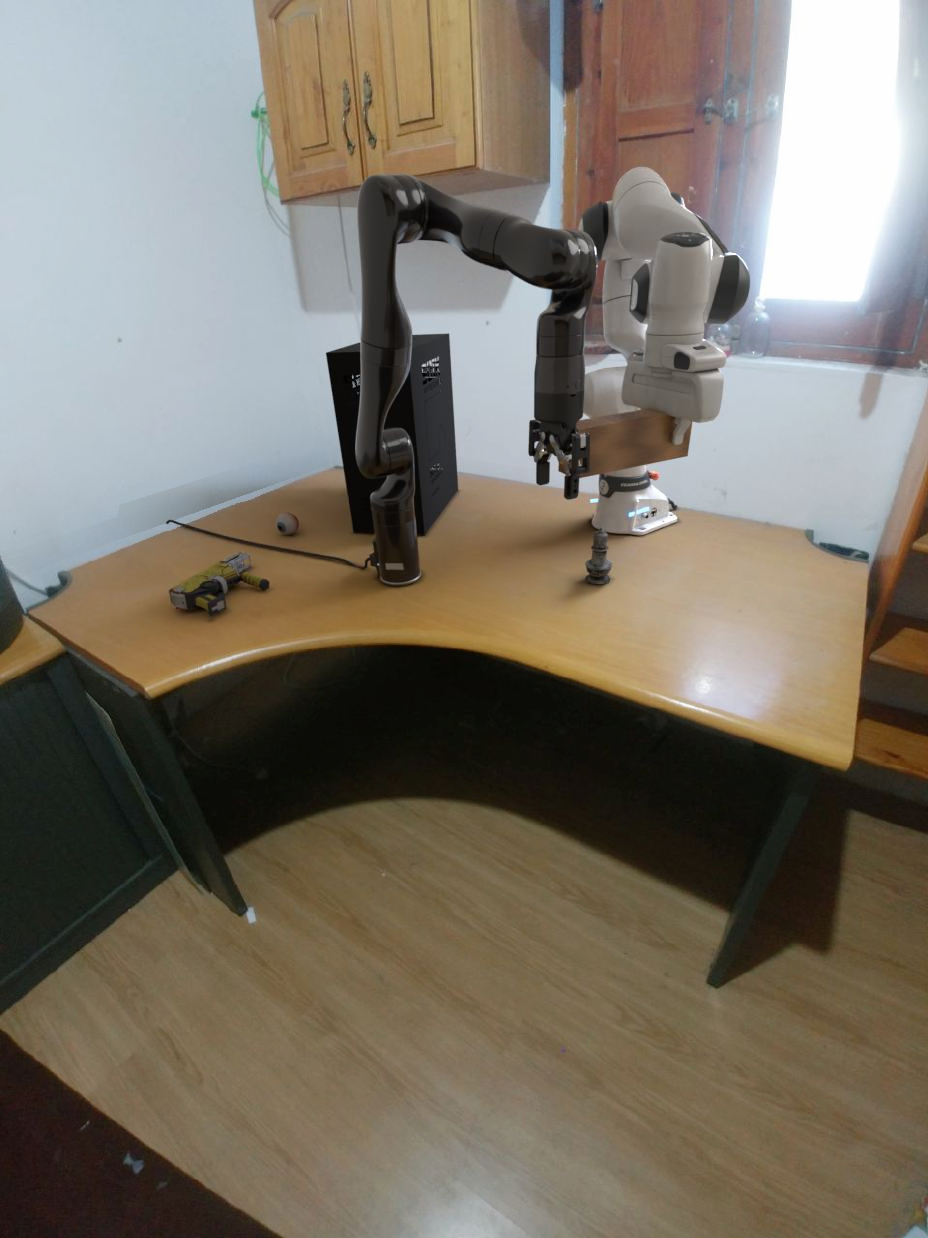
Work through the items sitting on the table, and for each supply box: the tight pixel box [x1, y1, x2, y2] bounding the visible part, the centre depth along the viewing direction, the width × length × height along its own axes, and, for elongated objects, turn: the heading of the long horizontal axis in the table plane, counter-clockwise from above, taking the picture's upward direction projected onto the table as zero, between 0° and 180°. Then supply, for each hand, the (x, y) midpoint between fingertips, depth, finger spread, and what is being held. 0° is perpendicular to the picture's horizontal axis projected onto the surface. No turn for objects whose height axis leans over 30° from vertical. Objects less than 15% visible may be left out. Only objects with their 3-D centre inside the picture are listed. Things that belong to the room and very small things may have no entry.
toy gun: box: [168, 551, 270, 617], centre depth 135 cm, size 5×24×15 cm
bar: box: [557, 409, 694, 479], centre depth 100 cm, size 23×5×8 cm, turn 115°
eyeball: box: [275, 511, 300, 536], centre depth 163 cm, size 6×6×6 cm
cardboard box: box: [325, 333, 459, 536], centre depth 166 cm, size 38×20×45 cm, turn 167°
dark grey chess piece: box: [584, 527, 614, 585], centre depth 129 cm, size 6×6×12 cm
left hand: (556, 491), depth 99 cm, fingers open, 8 cm apart
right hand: (662, 439), depth 103 cm, fingers closed on bar, 5 cm apart
